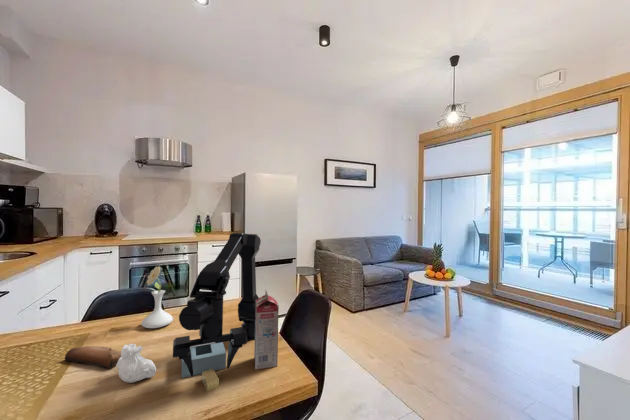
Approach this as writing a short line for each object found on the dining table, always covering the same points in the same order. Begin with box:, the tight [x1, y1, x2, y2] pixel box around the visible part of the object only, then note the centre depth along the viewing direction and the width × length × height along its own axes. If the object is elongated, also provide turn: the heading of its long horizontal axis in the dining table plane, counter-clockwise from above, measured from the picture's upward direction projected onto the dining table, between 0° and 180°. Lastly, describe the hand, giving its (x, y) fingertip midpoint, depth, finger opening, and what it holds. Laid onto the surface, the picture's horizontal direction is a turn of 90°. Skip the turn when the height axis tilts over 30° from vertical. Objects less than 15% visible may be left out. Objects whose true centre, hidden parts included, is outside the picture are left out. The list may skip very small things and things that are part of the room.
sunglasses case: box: [64, 345, 122, 370], centre depth 85 cm, size 18×7×7 cm, turn 77°
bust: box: [115, 343, 157, 384], centre depth 75 cm, size 12×8×11 cm
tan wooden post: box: [201, 369, 220, 392], centre depth 74 cm, size 3×6×2 cm, turn 35°
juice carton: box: [253, 290, 279, 370], centre depth 85 cm, size 7×7×22 cm
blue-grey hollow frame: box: [181, 342, 227, 379], centre depth 84 cm, size 12×12×4 cm
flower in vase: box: [140, 265, 174, 329], centre depth 111 cm, size 13×11×25 cm
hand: (210, 372), depth 74 cm, fingers open, 9 cm apart
